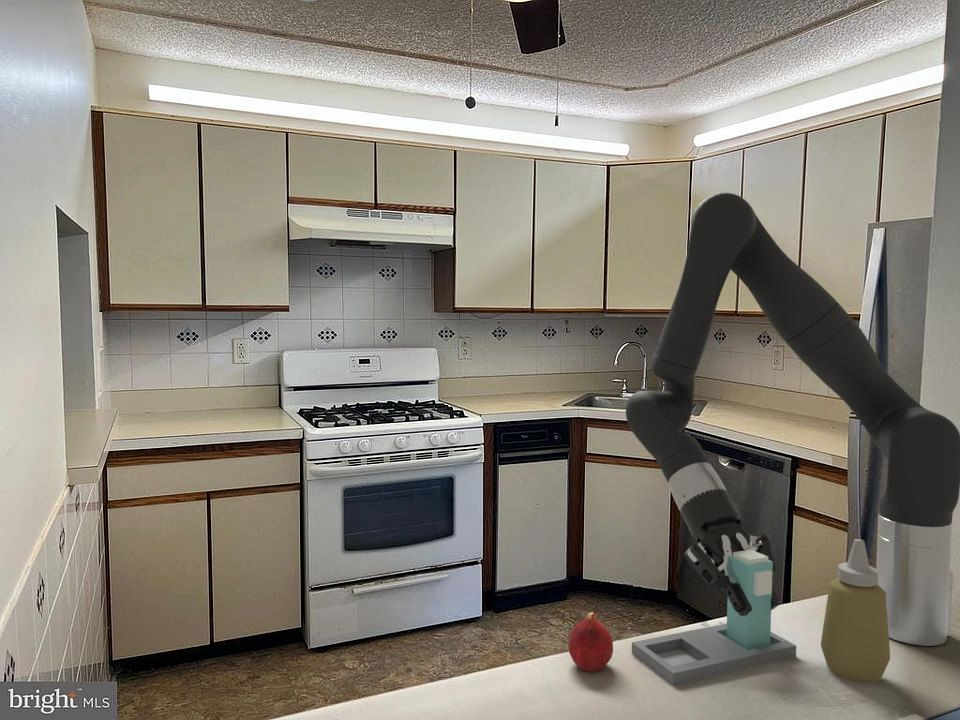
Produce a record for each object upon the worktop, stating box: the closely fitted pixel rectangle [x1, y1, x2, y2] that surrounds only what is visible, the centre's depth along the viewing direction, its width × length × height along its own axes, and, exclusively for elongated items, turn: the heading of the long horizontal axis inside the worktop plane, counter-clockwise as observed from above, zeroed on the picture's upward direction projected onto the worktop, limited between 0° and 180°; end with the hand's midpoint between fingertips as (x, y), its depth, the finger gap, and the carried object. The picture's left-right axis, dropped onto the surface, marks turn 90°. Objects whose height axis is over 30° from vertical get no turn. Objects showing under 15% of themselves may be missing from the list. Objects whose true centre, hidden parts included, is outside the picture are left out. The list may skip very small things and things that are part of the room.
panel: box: [631, 622, 797, 686], centre depth 97 cm, size 20×9×2 cm, turn 112°
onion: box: [568, 611, 614, 673], centre depth 93 cm, size 6×6×8 cm
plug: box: [726, 550, 773, 650], centre depth 98 cm, size 4×5×13 cm
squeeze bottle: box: [820, 538, 891, 684], centre depth 92 cm, size 8×8×18 cm
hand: (759, 610), depth 97 cm, fingers closed on plug, 4 cm apart
